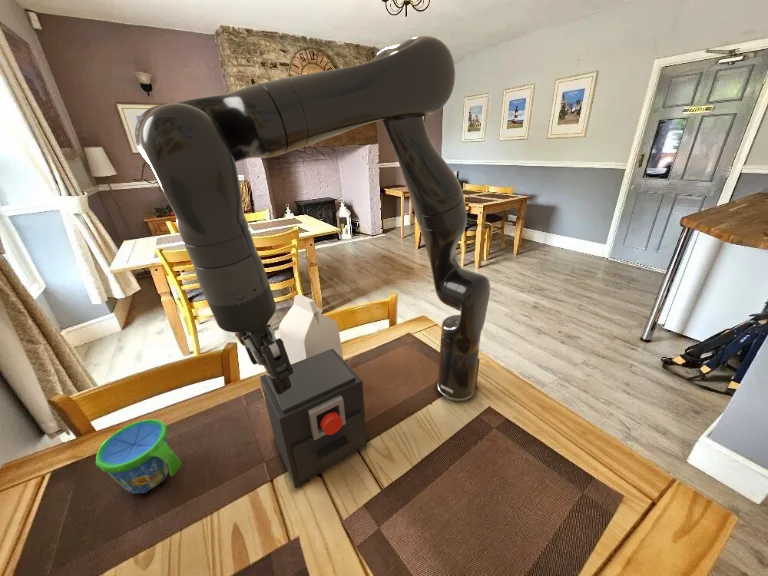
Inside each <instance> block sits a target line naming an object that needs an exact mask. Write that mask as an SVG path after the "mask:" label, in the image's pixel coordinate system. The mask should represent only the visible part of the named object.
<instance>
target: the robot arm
mask: <svg viewBox="0 0 768 576" xmlns="http://www.w3.org/2000/svg"><path fill="white" fill-rule="evenodd" d="M455 82H456V67H455V61H454V57H453V54H452V52H451V50H450V49H449V48H448V45H446V44H445V43H444V42H443V41H442V40H440V39H438V38H437V37H435V36H429V35H422V36H415V37H413V38H410V39H407V40H405V41H402V42H399V43H396V44H393V45H391V46H388V47H385V48H384V49H382V50H380V51H379V52H377V54H376V55H375V56H374V58H373V60H371V61H367V62H362V63H360V64H355V65H349V66H345V67H340V68H334V69H329V70H328V69H327V70H321V71H315V72H310V73H305V74H303V73H302V74H298V75H294V76H293V75H292V76H286V77H283V78H277V79H273V80H268V81H264V82H260V83H255V84H251V85H248V86H244V87H242V88H240V89H237V90H234V91H231V92H230V93H225V94H219V95H212V96H206V97H199V98H192V99H186V100H181V101H175V102H169V103H168V102H167V103H163V104H158V105H155V106H152V107H150V108H148V109H146V110H145V111H143V113H142V114H141V115H140V116H139V117H138V120H137V122H136V124H135V130H134V138H135V142H136V143H135V144H136V146H137V149H138V150H139V152H140V154H141V155H142V157H143V159H144V160H145V161H146V162H147V163H148V164H149V165H150V167H151V169H152V171H153V173H154V175H155V177H156V179H157V181H158V183H159V185H160V187H161V189H162V190H163V193H164V195H165V197H166V199H167V201H168V204H169V206H170V208H171V211H173V213H174V216H175V218H176V220H175V223H176V227H177V230H178V231H177V232H178V234H179V236H180V239H181V241H182V244H183V246H184V248H185V250H186V253H187V255H188V257H189V259H190V261H191V264H192V266H193V269H194V272H195V276H196V279H197V282H198V285H199V287H200V289H201V292H202V294H203V296H204V298H205V300H206V303H207V304H208V306H209V309H210V311H211V313H212V315H213V317H214V319H215V321H216V325H217V326H218V327H219V328H220V329H221V330H222V331H225V332H227V333H234V335H235V337H236V338H237V340H238V342H239V343H240V344H241V346H243V347H244V348H245V351H246V353H247V355H248V358H249V360H250V363H252V364H253V366H255V365H259V366H263V367H264V369H265V371H266V374H268V376H269V378H270V379H271V381H272V384H273V386H274V389H275V391H276V393H277V394H278V395H280V394H282V393H284V392H285V391H287V390H288V389H290V388H291V383H290V380H289V377H288V376H290V375H291V374H293V369H292V367H291V364H290V361H289V358H288V355H287V352H286V350H285V347H284V344H283V341H282V340H281V339H280V337H278V338H276V336H275V334H276V332H275V330H274V327H273V326H272V325H271V324H270V323H269V322H270V320H271V319H272V318H273V316H274V315H275V312H276V310H277V304H276V301H275V298H274V294H273V291H272V287H271V285H270V282H269V278H268V276H267V273H266V269H265V266H264V264H263V261H262V259H261V257H260V255H259V252H258V251H257V248H256V244H255V242H254V238H253V235H252V231H251V229H250V227H249V226H250V225H249V223H248V220H247V218H246V215H245V213H244V209H243V208H244V207H243V198H242V192H241V184H240V179H239V174H238V168H237V164H236V163H238V162H241V161H244V160H248V159H268V158H273V157H278V156H282V155H284V154H287V153H290V152H292V151H293V152H294V151H295V150H299V149H302V148H305V147H308V146H311V145H313V144H316V143H318V142H321V141H324V140H327V139H329V138H333V137H335V136H337V135H340V134H343V133H346V132H348V131H351V130H354V129H356V128H359V127H363V126H366V125H369V124H372V123H376V122H378V121H381V123H382V126H383V128H384V131H385V134H386V135H387V137H388V140H389V142H390V144H391V147H392V149H393V152H394V154H395V155H396V159H397V161H398V165H399V167H400V171H401V175H402V177H403V180H404V182H405V185H406V189H407V191H408V195H409V198H410V201H411V205H412V209H413V212H414V215H415V218H416V222H417V225H418V227H419V230H420V232H421V236H422V239H423V242H424V245H425V250H426V253H427V256H428V259H429V264H430V269H431V274H432V280H433V285H434V290H435V293H436V296H437V298H438V300H439V302H440V303H442V304H444V305H445V306H447V307H450V308H452V309H455V310H456V311H459V312H460V314H453V315H450V316H447V317H446V318H445V319H444V320H442V323H441V329H440V346H439V360H438V361H439V362H438V363H439V364H438V376H437V385H436V386H437V392H439V394H440V395H441V396H442V397H443V398H445V399H446V400H449V401H450V402H455V403H457V402H458V403H460V402H466V401H469V400H470V399H471V398H473V396H474V395H475V390H476V389H477V385H478V384H477V383H478V378H479V377H478V376H479V367H480V362H481V361H480V360H481V359H480V358H479V352H480V343H481V335H482V330H483V328H484V325H485V321H486V316H487V311H488V307H489V302H490V296H491V284H490V283H491V282H490V280H489V278H488V277H487V276H486V275H483V274H480V273H477V272H474V271H471V270H468V269H465V268H462V267H461V265H460V263H459V260H458V258H457V252H456V251H457V247H458V244H459V243H460V241H461V238H462V237H463V235H464V233H465V231H466V227H467V223H468V213H467V208H466V202H465V196H464V191H463V188H462V186H461V185H462V184H461V183H460V181H459V179H458V177H457V175H456V174H455V173H454V171H453V170H452V169H451V167H450V166H449V165H448V163H447V162H446V160H445V159H444V158H443V157H442V155H441V154H440V153H439V151H438V150H437V149H436V147H435V146H434V144H433V141H432V140H431V138H430V135H429V132H428V130H427V126H426V122H425V119H424V117H428V116H430V115H434V114H435V113H437V112H439V111H440V110H441V109H442V108H444V107H445V105H446V104H447V103H448V101H449V99H450V98H451V96H452V94H453V91H454V88H455Z"/></svg>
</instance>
